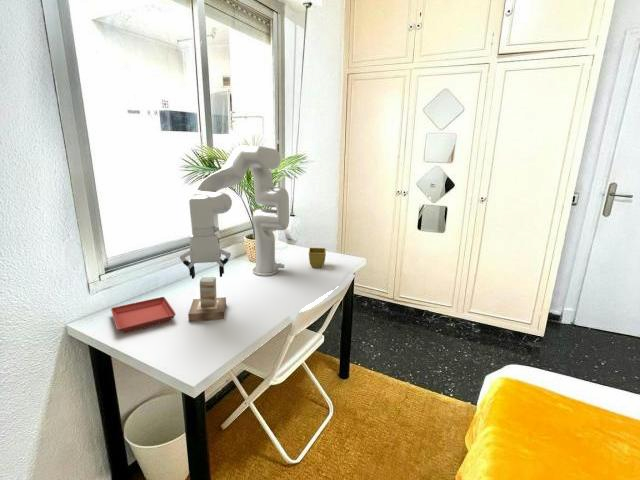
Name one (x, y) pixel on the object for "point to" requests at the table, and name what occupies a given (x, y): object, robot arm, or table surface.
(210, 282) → the skincare box
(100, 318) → the table surface
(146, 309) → the plant saucer
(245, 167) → the robot arm
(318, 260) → the flower pot
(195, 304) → the base slab
